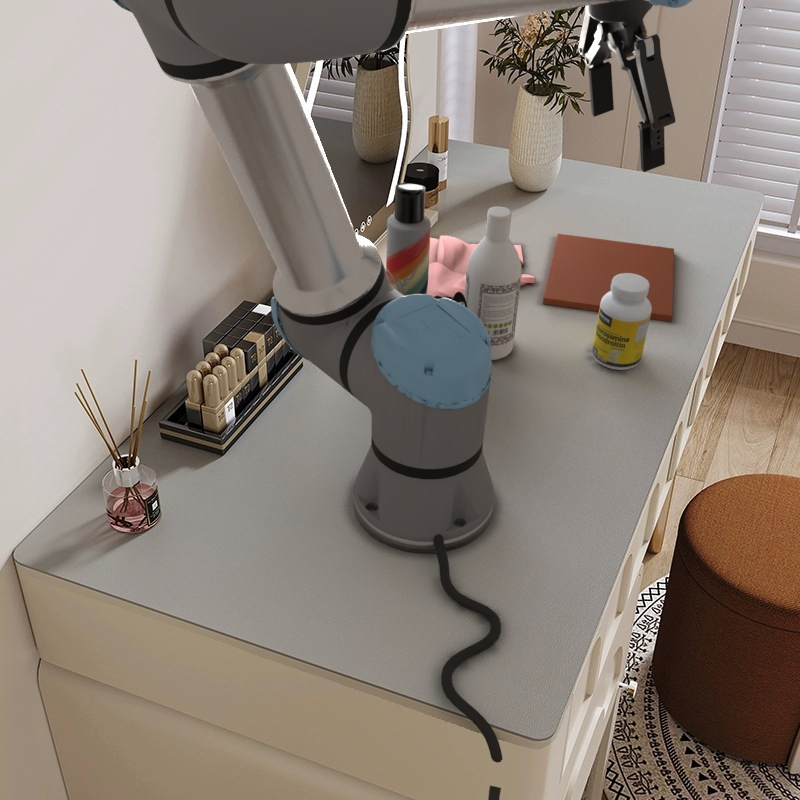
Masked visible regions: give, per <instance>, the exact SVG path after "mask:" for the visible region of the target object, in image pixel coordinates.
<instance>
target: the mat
mask: <svg viewBox="0 0 800 800" xmlns="http://www.w3.org/2000/svg"><path fill="white" fill-rule="evenodd" d="M554 244H555V245H554V248H553V253H552V257H551V261H550V266H549V271H548V275H547V279H546V284H545V289H544V294H543V298H542V305H549V306H556V307H562V308H563V307H564V308H571V309H578V310H585V311H592V312H598V313H599V309H600V304H601V300H602V298H603V296H604V295H605V294H606V293H608V292H610V291H611V283H612V279H613V277H614V276H616V275H618V274H622V273H632V274H637V275H640V276H642V277H644V278H645V279H647V280H648V282H649V291H648V295H647V297H646V298H647V299H648V300H649V301H650V303H651V307H652V311H651V316H650V320H654V321H655V320H656V321H664V322H671V323H672V320H673V309H674V307H673V306H674V305H673V304H674V272H675V271H674V269H675V248H672V247H667V246H666V247H665V246H658V245H649V244H641V243H634V242H626V241H619V240H611V239H603V238H597V237H596V238H595V237H588V236H580V235H574V234H573V235H572V234H564V233H557V234H556V239H555V243H554Z"/></svg>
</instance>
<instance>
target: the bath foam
mask: <svg viewBox="0 0 800 800" xmlns="http://www.w3.org/2000/svg"><path fill="white" fill-rule="evenodd" d="M511 223H512V211H511V209H510V208H508V207H507V206H492V207H490V208H488V209H487V217H486V225H485V236H484V237H483V238H482V240H480V242H479V243H477V244H478V245H477V246H476V248H475V249H474V250H473V252H472V254H471V256H470V258H469V261H468V265H467V271H466V284H465V296H464V297H465V299H466V303H467V308H468V309H469V310H471V311H472V312H473V313H474V314H475V315H476V316H477V317H479V318H480V320H481V321H482V323H483V324H484V326H485V327H486V329H487V331H488V334H489V337H490V342H491V360H492V361H496V360H501V359H504V358H505V357H508V356H509V354H511V352H512V350H513V347H514V342H515V334H516V326H517V317H518V309H519V299H520V291H521V286H520V283H521V274H523V273H522V265H521V261H520V257H519V255H518V252H517V250H516V249H515V247H514V245H515V244H514V243H513V242H512V241H511V239H510V233H511V225H512V224H511Z"/></svg>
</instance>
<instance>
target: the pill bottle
mask: <svg viewBox="0 0 800 800" xmlns="http://www.w3.org/2000/svg"><path fill="white" fill-rule="evenodd" d="M648 291H649V282H648V280H647V279H645V278H644V277H642V276H640V275H637V274H632V273H622V274H618V275H616V276H614V277H613V279H612V283H611V291H610V292H608V293H606V294H605V295H604V296H603V298H602V300H601V304H600V309H599V312H598V316H597V319H596V320H597V321H596V326H595V331H594V338H593V343H592V348H591V349H592V351H591V352H592V353H591V354H592V357H593V359H594V360H595V361H596V362H597V363H598V364H599V365H601V366H603V367H605V368H608V369H611V370H617V371H625V370H631V369H632V368H635V367H636V366H637V365H638V364H640V362H641V360H642V356H643V352H644V347H645V343H646V337H647V334H648V329H649V325H650V321H651V319H650V316H651V311H652V307H651V303H650V301H649V300H648V299H647V298H646V297H647V295H648Z"/></svg>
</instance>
